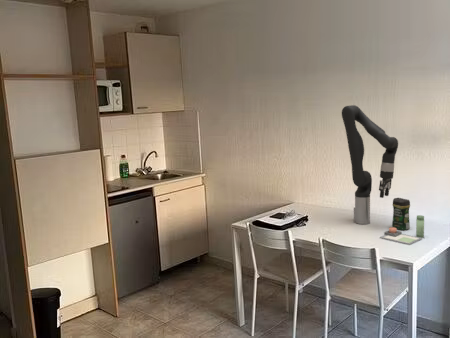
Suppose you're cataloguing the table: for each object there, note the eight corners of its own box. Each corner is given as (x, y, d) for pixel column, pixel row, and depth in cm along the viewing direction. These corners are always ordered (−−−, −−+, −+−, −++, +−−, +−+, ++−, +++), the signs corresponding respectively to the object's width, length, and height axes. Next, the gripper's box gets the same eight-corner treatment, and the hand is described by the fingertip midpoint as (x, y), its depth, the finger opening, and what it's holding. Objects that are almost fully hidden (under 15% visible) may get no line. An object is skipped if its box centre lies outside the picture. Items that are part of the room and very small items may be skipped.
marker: (414, 236, 252) (415, 216, 250) (418, 235, 255) (418, 214, 253) (421, 238, 249) (422, 217, 247) (425, 236, 252) (425, 216, 250)
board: (378, 238, 253) (378, 234, 253) (392, 232, 262) (392, 229, 262) (409, 245, 239) (409, 241, 239) (422, 239, 248) (422, 235, 248)
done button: (387, 232, 256) (387, 228, 256) (391, 230, 259) (391, 226, 258) (394, 233, 253) (394, 229, 253) (397, 232, 256) (398, 228, 255)
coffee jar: (389, 227, 272) (390, 198, 269) (398, 225, 275) (399, 196, 273) (403, 231, 263) (403, 200, 260) (412, 228, 267) (412, 198, 264)
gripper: (384, 168, 274) (381, 194, 277) (376, 170, 263) (373, 197, 265) (397, 170, 270) (394, 196, 272) (389, 172, 259) (386, 199, 261)
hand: (384, 196), depth 269 cm, fingers open, 8 cm apart
